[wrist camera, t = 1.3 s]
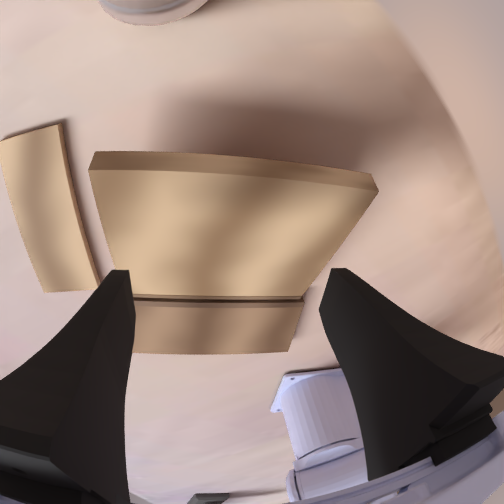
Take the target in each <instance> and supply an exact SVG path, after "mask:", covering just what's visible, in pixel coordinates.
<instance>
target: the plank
mask: <svg viewBox="0 0 504 504" xmlns="http://www.w3.org/2000/svg"><path fill="white" fill-rule="evenodd" d="M0 162H1V166H2V171H3V175H4V179H5V183H6V187H7V191H8V194H9V198H10V201H11V205H12V208H13V212H14V215H15V218H16V221H17V224H18V227H19V230H20V233H21V236H22V239H23V242H24V244H25V247H26V250H27V252H28V255H29V258H30V260H31V263H32V265H33V268H34V270H35V273H36V275H37V277H38V280H39V282H40V284H41V286H42V289H43V291H44V293H49V292H65V291H80V290H94V289H97V288H98V286H99V285H100V284H101V283H100V280H99V277H98V274H97V271H96V268H95V265H94V261H93V258H92V255H91V252H90V248H89V245H88V242H87V238H86V235H85V231H84V227H83V224H82V220H81V216H80V212H79V208H78V204H77V200H76V196H75V191H74V187H73V182H72V178H71V173H70V168H69V163H68V157H67V152H66V146H65V140H64V133H63V127H62V123H59V124H55V125H51V126H48V127H44V128H40V129H37V130H33V131H30V132H26V133H23V134H20V135H17V136H14V137H11V138H7V139H4V140H2V141H0Z"/></svg>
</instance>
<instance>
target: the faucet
mask: <svg viewBox="0 0 504 504" xmlns="http://www.w3.org/2000/svg"><path fill="white" fill-rule="evenodd" d="M228 498H229V493H217V494H195V495H194V496H193V497H192V498H191V499H190V501H189V502H188V503H187V504H221V503H223V502H224V501H225V500H227V499H228Z"/></svg>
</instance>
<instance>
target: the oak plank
mask: <svg viewBox="0 0 504 504" xmlns="http://www.w3.org/2000/svg"><path fill="white" fill-rule="evenodd" d="M88 172H89V176H90V181H91V185H92V189H93V193H94V197H95V201H96V205H97V209H98V213H99V216H100V220H101V224H102V227H103V231H104V234H105V237H106V241H107V244H108V247H109V250H110V254H111V257H112V260H113V263H114V266H115V269H116V270H129V272H130V279H131V286H132V293H133V297H141V298H171V299H226V300H272V299H300V298H301V297H302V295H303V294H304V293H305V291H306V290H307V289H308V288H309V286H310V285H311V284H312V282H313V281H314V280H315V278H316V277H317V276H318V275H319V273H320V272H321V271H322V269H323V268H324V267H325V265H326V264H327V263H328V261H329V260H330V259H331V257H332V256H333V255H334V253H335V252H336V251H337V249H338V248H339V247H340V245H341V244H342V243H343V241H344V240H345V239H346V237H347V236H348V235H349V233H350V232H351V230H352V229H353V228H354V226H355V225H356V223H357V222H358V221H359V219H360V218H361V216H362V215H363V214H364V212H365V211H366V209H367V208H368V207H369V205H370V204H371V202H372V201H373V199H374V198H375V197H376V195H377V194H378V192H379V190H378V188H377V186H376V184H375V182H374V179H373V177H372V175H371V174H368V173H362V172H357V171H351V170H345V169H338V168H332V167H325V166H318V165H311V164H304V163H296V162H288V161H279V160H271V159H261V158H251V157H240V156H228V155H214V154H198V153H178V152H146V151H96V152H95V153H94V156H93V159H92V161H91V164H90V166H89V169H88Z"/></svg>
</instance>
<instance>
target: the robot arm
mask: <svg viewBox="0 0 504 504" xmlns="http://www.w3.org/2000/svg"><path fill="white" fill-rule="evenodd" d="M319 312H320V316H321V320H322V323H323V326H324V330H325V333H326V335H327V338H328V340H329V342H330V344H331V347H332V349H333V351H334V353H335V356H336V358H337V360H338V362H339V364H340V367H341V368H338V369H330V370H322V371H313V372H303V373H293V374H286V375H284V376H283V378H282V381H281V384H280V386H279V389H278V391H277V394H276V396H275V399H274V401H273V404H272V406H271V412H283V415H284V418H285V422H286V426H287V429H288V433H289V437H290V440H291V444H292V448H293V451H294V455H295V458H296V461H294V462H293V465H294V469H292V470H290V471H289V473H288V475H287V477H286V488H287V493H288V497H289V500H290V502H289V503H284V504H367V503H369V502H371V503H369V504H482V503H483V502H484V501H485V500H486V499H487V498H488V497H489V496H490V495H492V494H493V493H494V492H495V491H496V490H497V489H498V488H499V487H500V486H501V485H502V483H504V410H503V411H502V412H501V413H499V414H497V415H496V416H495V417H494V418H491V417H490V415H489V413H491V412H492V407H491V405H490V404H489V403H490V402H491V401H492V400H493V399H494V398H495V397H496V396H497V395H498V394H499V393H500V392H501V391H502V390H503V388H504V357H503V356H501V355H497V354H494V353H490V352H487V351H484V350H480V349H478V348H475V347H472V346H470V345H467V344H464V343H462V342H460V341H457V340H455V339H453V338H451V337H449V336H447V335H445V334H443V333H441V332H439V331H437V330H435V329H433V328H432V327H430V326H428V325H426V324H425V323H423V322H421V321H420V320H418V319H416V318H415V317H413V316H412V315H410V314H409V313H407V312H406V311H404V310H403V309H401V308H400V307H399V306H397V305H396V304H394V303H393V302H392V301H390V300H389V299H388V298H386V297H385V296H384V295H382V294H381V293H380V292H378V291H377V290H376V289H374V288H373V287H372V286H370V285H369V284H368V283H366V282H365V281H364V280H362V279H361V278H360V277H358V276H357V275H356V274H354V273H353V272H351V271H350V270H348V269H346V268H331V272H330V275H329V278H328V282H327V285H326V288H325V291H324V295H323V298H322V301H321V304H320V307H319ZM135 323H136V311H135V305H134V299H133V293H132V286H131V279H130V272H129V270H112V271H111V272H110V273H109V274H108V275H107V276H106V278H105V279H104V280H103V281H102V283H101V284H100V285H99V286H98V288H97V289H96V290H95V291H94V293H93V294H92V295H91V296H90V298H89V299H88V300H87V301H86V302H85V304H84V305H83V306H82V307H81V308H80V310H79V311H78V312H77V313H76V314H75V315H74V316H73V317H72V319H71V320H70V321H69V322H68V323H67V324H66V325H65V326H64V328H63V329H62V330H61V331H60V332H59V333H58V334H57V335H56V336H55V337H54V338H53V339H52V340H51V341H49V342H48V343H47V344H46V345H45V346H44V347H43V348H42V349H41V350H39V351H38V352H37V353H36V354H35V355H33V356H32V357H31V358H30V359H29V360H27V361H26V362H25V363H24V364H23V365H21V366H20V367H19V368H17V369H16V370H15V371H13V372H12V373H10V374H9V375H7V376H6V377H5V378H3V379H2V380H0V504H131V503H130V497H129V489H128V481H127V471H126V458H125V433H124V412H125V394H126V387H127V380H128V374H129V368H130V362H131V356H132V350H133V345H134V338H135ZM397 491H399V493H398V495H397ZM372 501H373V502H372Z"/></svg>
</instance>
